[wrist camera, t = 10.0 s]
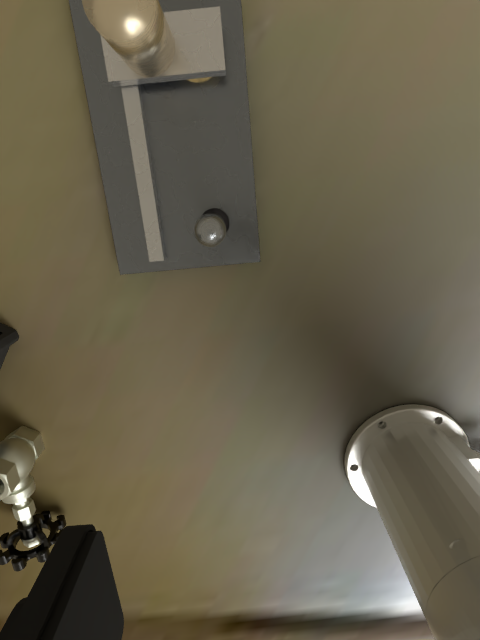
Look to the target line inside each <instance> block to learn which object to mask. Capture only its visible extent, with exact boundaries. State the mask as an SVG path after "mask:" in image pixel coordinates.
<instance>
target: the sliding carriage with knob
mask: <svg viewBox="0 0 480 640" xmlns="http://www.w3.org/2000/svg"><path fill="white" fill-rule="evenodd" d="M82 4H83V8H84V11H85V13H86V15H87V18H88V19H89V21H90V23H91V24H92V25H93V26H94V28H95V29H96V30H97V31H98V32H99V33H100V35H101V41H102V47H103V53H104V59H105V65H106V70H107V76H108V82H109V83H111V84H112V85H113V86H114V87H118V86H128V85H137V84H147V83H157V82H167V81H177V80H187V79H197V78H207V77H216V76H226V69H225V58H224V47H223V35H222V24H221V13H220V6H219V7H209V8H199V9H190V10H180V11H171V12H163V11H162V8H161V6H160V3H159V1H158V0H82Z"/></svg>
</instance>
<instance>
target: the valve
mask: <svg viewBox="0 0 480 640" xmlns="http://www.w3.org/2000/svg"><path fill="white" fill-rule="evenodd" d="M44 449H45V447H44V444H43V440H42V436H41V433H40V432H38V431H35V430H33V429H30V428H28V427H25V426H21V427H19V428H18V429H16V430H15V431H13V432H12V433H10V434H9V435H8V436H7V437H6V438H5V439H4V440H3V441H1V442H0V501H1V500H2V501H3V502H4V503H6V504H14V506H13V507H12V510H13V514H14V517H15V519H17V520H18V522H17V525H18V527H17V528H18V529H16V530H14V531H13V532H11V533H10V535H9V532H8V533H5V534H3V535H2V536H1V537H0V544H1V547H2V548H8V550H7V551H5V552H2V550H0V565H4V564H6V563H8V562H9V561H10V560H11V559H12V561H11V562H12V566H13V569H14V570H15V571H20V570H22V569H24V568H25V566H26V564H27V561H28V560H29V559H31V558H34V557H37V559H38V562H45V561H46V560H47V558H48V556H49V554H50V552H49V547H50V546H51V545H53V544H55V543H56V541H57V539H58V537H59V535H60V533H61V532H62V530H63V528H64V527H65V526H66V520H65V517H64V515H59V516H57V521H55V522H52V521H51V520H52V518H51V514H50V511H43V512H41V513H40V514H35V515H34V513H35V511H36V508H35V504H34V501H33V499H31V498H29V497H30V496H31V495H32V494H33V492H34V491H35V489H36V485H35V481H34V478H33V477H32V476H31V475H28V474H29V473H30V472H31V470H32V468H33V466H34V463H35V459H37V458H38V457H39V455H40V454H41V453H42V451H43V450H44ZM42 528H46V529H49V530H50V535H49V537H48V538H47V537H46V535H45V534H44V533H43V531H42ZM58 530H60V532H59V533H57V531H58ZM20 539H21V540H22V541H23V544H24V545H25V546H27V547H33V546H35V545H37V544H39V543H40V544H41V545H39V546H38V547H36V548H34V549H32V550H29V551H18V550H17V549H15V548H16V544H17V542H18V541H19V540H20Z"/></svg>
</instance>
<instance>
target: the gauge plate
mask: <svg viewBox="0 0 480 640" xmlns="http://www.w3.org/2000/svg"><path fill="white" fill-rule="evenodd" d="M158 1H159V3H160V6H161V8H162V11H163V12H171V11H180V10H190V9H199V8H209V7H219V6H220V13H221V24H222V35H223V47H224V58H225V69H226V76H216V77H207V78H197V79H187V80H177V81H167V82H157V83H147V84H137V85H128V86H118V87H114V86H113V85H112V84H111V83H109V82H108V76H107V70H106V65H105V59H104V53H103V47H102V41H101V35H100V33H99V32H98V31H97V30H96V29H95V28H94V26H93V25H92V24H91V23H90V21H89V19H88V18H87V15H86V13H85V11H84V8H83V4H82V0H69V4H70V10H71V15H72V20H73V26H74V31H75V36H76V42H77V47H78V52H79V58H80V63H81V68H82V74H83V79H84V84H85V90H86V95H87V100H88V106H89V111H90V116H91V122H92V127H93V133H94V138H95V143H96V149H97V154H98V159H99V165H100V170H101V175H102V181H103V186H104V191H105V197H106V202H107V207H108V213H109V218H110V223H111V229H112V234H113V239H114V245H115V250H116V255H117V261H118V266H119V271H120V275H121V274H132V273H143V272H154V271H165V270H176V269H187V268H198V267H208V266H219V265H230V264H241V263H252V262H260V250H259V236H258V223H257V209H256V196H255V183H254V169H253V156H252V143H251V129H250V116H249V102H248V89H247V76H246V62H245V49H244V35H243V22H242V9H241V0H158Z"/></svg>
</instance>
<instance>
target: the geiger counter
mask: <svg viewBox="0 0 480 640" xmlns="http://www.w3.org/2000/svg"><path fill="white" fill-rule="evenodd" d="M18 338H19V335H18V333H17V331H16V330H15V329H13V328H10V327H8V326H6V325H4V324H2V323H0V369H1V366H2V364H3V361H4V359H5V356H6V354H7V352H8V349H9V347H10V345H12V344H13V343H15V342H16V341H18Z"/></svg>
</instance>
